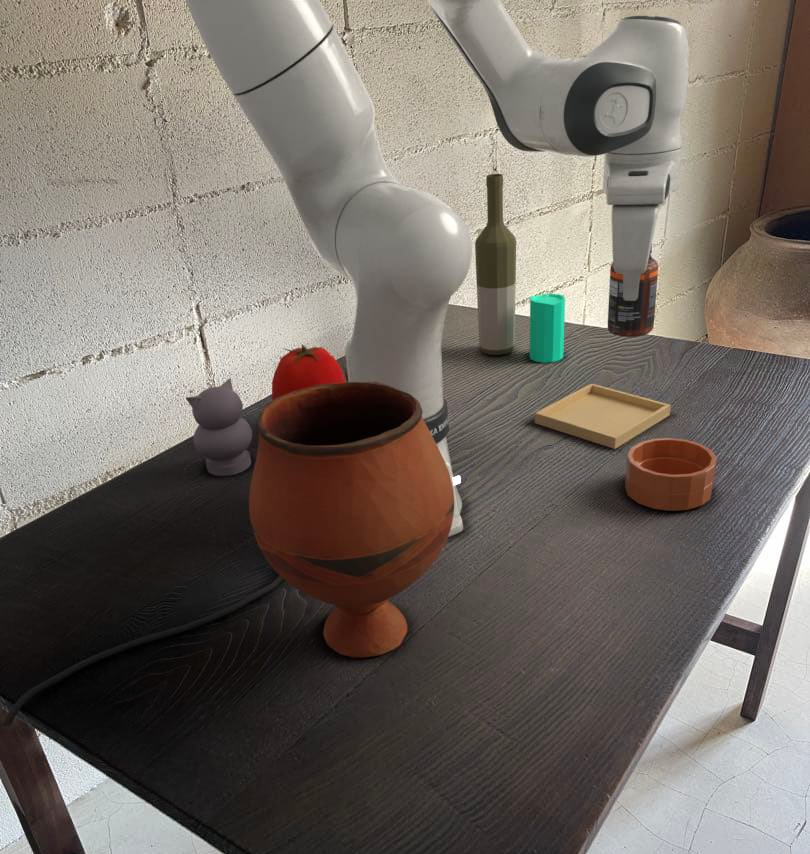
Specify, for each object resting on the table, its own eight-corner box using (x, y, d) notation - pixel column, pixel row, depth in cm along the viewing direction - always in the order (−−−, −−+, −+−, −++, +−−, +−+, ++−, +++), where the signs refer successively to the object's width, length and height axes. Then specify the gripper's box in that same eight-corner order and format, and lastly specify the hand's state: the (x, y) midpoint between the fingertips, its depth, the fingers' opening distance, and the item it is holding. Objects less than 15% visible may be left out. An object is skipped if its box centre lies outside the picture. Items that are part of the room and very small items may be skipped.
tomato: (367, 419, 130) (359, 338, 123) (319, 451, 122) (307, 366, 115) (311, 407, 136) (299, 328, 129) (260, 437, 128) (245, 355, 120)
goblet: (466, 690, 77) (455, 450, 64) (262, 702, 78) (208, 467, 64) (454, 572, 93) (444, 361, 80) (285, 583, 94) (247, 375, 80)
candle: (526, 361, 146) (527, 294, 139) (532, 350, 151) (533, 283, 144) (560, 363, 144) (562, 294, 138) (565, 351, 149) (567, 284, 142)
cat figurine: (222, 485, 115) (205, 405, 109) (188, 470, 120) (170, 393, 113) (269, 461, 120) (254, 383, 114) (234, 448, 125) (219, 372, 118)
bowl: (682, 521, 98) (687, 485, 96) (609, 494, 105) (611, 459, 102) (726, 488, 104) (732, 453, 101) (654, 464, 111) (657, 430, 108)
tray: (614, 449, 115) (615, 438, 115) (534, 423, 124) (534, 412, 124) (669, 415, 123) (671, 404, 122) (590, 393, 132) (591, 383, 131)
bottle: (522, 347, 152) (523, 171, 136) (505, 360, 147) (504, 179, 131) (488, 342, 156) (485, 170, 139) (471, 355, 151) (465, 178, 135)
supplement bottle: (650, 322, 111) (657, 235, 105) (656, 337, 106) (664, 247, 100) (604, 324, 112) (609, 238, 106) (608, 339, 107) (614, 249, 101)
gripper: (621, 161, 108) (614, 268, 115) (605, 192, 92) (599, 315, 99) (671, 159, 106) (661, 268, 114) (664, 191, 90) (653, 316, 97)
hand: (632, 290), depth 106 cm, fingers closed on supplement bottle, 6 cm apart
